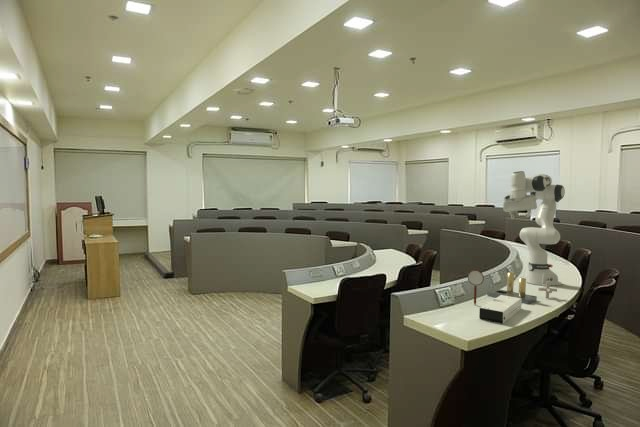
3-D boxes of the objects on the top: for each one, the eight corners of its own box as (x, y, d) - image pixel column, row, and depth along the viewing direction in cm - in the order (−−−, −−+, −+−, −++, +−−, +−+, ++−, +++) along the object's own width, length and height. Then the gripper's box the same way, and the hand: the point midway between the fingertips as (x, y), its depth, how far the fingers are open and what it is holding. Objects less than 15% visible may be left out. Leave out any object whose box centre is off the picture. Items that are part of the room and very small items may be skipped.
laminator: (500, 305, 232) (500, 294, 232) (523, 309, 224) (523, 298, 224) (479, 319, 206) (479, 307, 206) (504, 325, 198) (505, 312, 198)
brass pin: (511, 292, 261) (511, 272, 260) (514, 293, 257) (515, 273, 257) (505, 292, 261) (506, 272, 260) (509, 293, 257) (509, 273, 256)
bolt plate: (487, 295, 252) (488, 275, 251) (496, 292, 260) (497, 272, 259) (528, 304, 234) (529, 281, 233) (536, 300, 242) (537, 278, 241)
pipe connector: (559, 300, 242) (560, 283, 242) (541, 299, 244) (541, 282, 244) (553, 296, 252) (553, 280, 251) (535, 295, 254) (536, 279, 253)
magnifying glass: (466, 304, 233) (467, 269, 231) (467, 303, 234) (468, 269, 233) (482, 306, 228) (483, 271, 227) (483, 306, 229) (484, 270, 228)
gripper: (538, 194, 253) (539, 216, 252) (506, 198, 270) (507, 219, 268) (533, 193, 250) (534, 215, 248) (501, 197, 266) (502, 218, 264)
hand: (520, 217), depth 258 cm, fingers open, 8 cm apart
